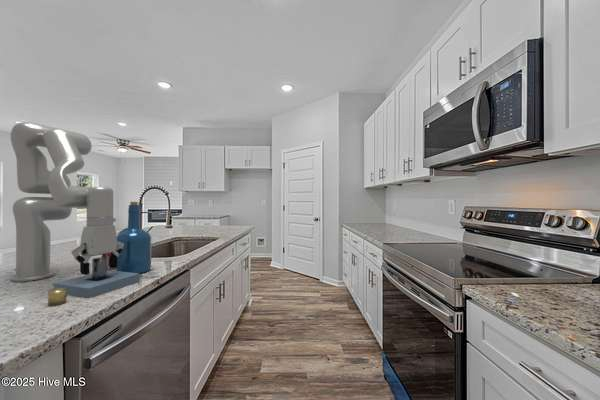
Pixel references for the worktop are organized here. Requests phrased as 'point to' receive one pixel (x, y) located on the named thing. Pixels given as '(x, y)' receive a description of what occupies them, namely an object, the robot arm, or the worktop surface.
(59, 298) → the short brass pin
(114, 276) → the sleeve block
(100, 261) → the tall steel pin
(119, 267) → the wine bottle
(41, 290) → the worktop surface
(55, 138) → the robot arm
